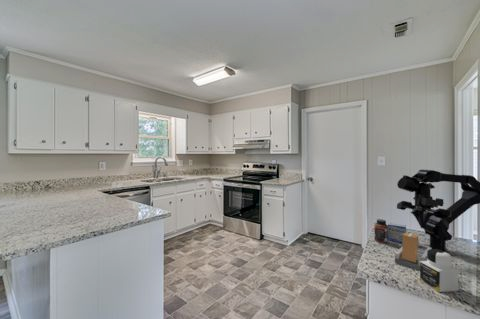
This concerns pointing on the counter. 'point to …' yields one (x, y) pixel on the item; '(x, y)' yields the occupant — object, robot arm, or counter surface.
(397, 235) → the medicine box
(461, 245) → the counter surface
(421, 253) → the fader console
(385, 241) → the supplement bottle
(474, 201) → the robot arm
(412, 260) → the fader knob
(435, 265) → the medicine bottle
